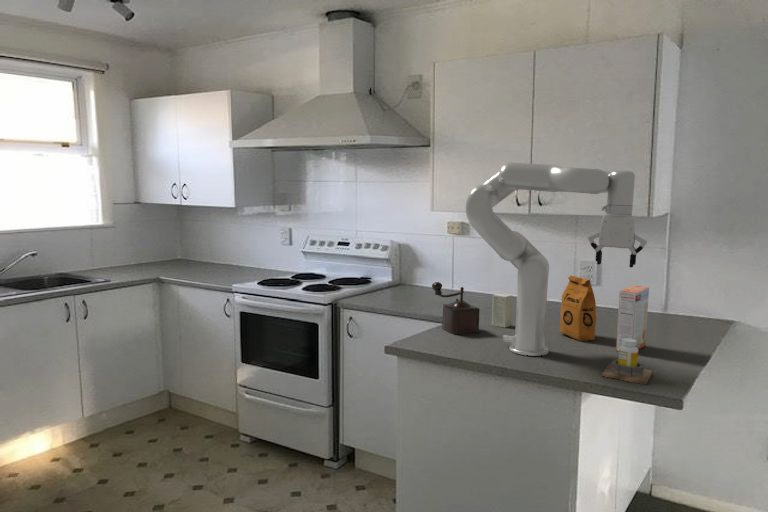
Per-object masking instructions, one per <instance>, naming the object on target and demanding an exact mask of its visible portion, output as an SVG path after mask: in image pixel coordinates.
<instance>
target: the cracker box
mask: <svg viewBox="0 0 768 512" xmlns="http://www.w3.org/2000/svg"><path fill="white" fill-rule="evenodd" d="M649 294H650V287H648V286H641V285H631V286H628V287H627V288H624V289H621V290H619V295H618V313H617V330H616V346H615V351H616V352H619V347H620V346H621V345H623V344H622V339H624V338H630V339H634V340H636V341H637V345H636V346H635V347H637V348H638V351H639V350H641V349H643V348H644V347H645V346H646V338H647V323H648V322H647V321H648V310H649V308H648V306H649V297H650V295H649Z"/></svg>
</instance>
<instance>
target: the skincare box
mask: <svg viewBox="0 0 768 512" xmlns="http://www.w3.org/2000/svg"><path fill="white" fill-rule="evenodd" d="M491 306H492V310H491V311H492V312H491V313H492V314H491V326H495V327H500V328H509V327H510V326H511V325H512V322H511V321H512V295H511V294H504V293H494V294H492V305H491Z"/></svg>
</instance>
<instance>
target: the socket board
mask: <svg viewBox="0 0 768 512" xmlns="http://www.w3.org/2000/svg"><path fill="white" fill-rule="evenodd" d="M652 373H653V370H651V369H646V368H645V364H644V363H642V362H640V361H637V367H627V366H621V365H619V364H618V359H613V360H612V361H611V363H609V364H608V365H607V367H605V369H604V370H603V372H602V373H601V377H602V376H607V377H611V378H615V379H614V380H617V379H619V380H618V381H623V380H624V382H628V381H629V383H635V384H641V385H645V386H646V385H647V384H648V382H649V380H650V378H651V376H652ZM611 378H610V379H611Z"/></svg>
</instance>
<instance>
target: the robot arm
mask: <svg viewBox="0 0 768 512" xmlns="http://www.w3.org/2000/svg"><path fill="white" fill-rule="evenodd" d="M635 180H636V175H635V173H634V172H633V171H628V170H613V171H607V170H602V169H599V168H585V167H584V168H583V167H569V166H559V165H555V164H544V163H543V164H542V163H541V164H540V163H527V162H514V161H513V162H507V163H504V164H503V165H502V166H501V167H500V168H499V171H498V172H497V173H496V174H494V175H493V176H492V177H491V178H489V179H488V180H486V181H485V182H484V183H483V184H478V185H476V186H475V187H473V188H472V189H471V190H470V192H469V194H468V196H467V199H466V203H465V214H466V217H467V220H468V222H469V224H470V225H471V227H472V228H473V229H474V230H475V232H477V233H478V235H479V236H480V237H481V238H482V239H483V241H485V242H486V243H487V244H488V246H490V248H492V249H493V250H494V251H495V253H496V254H497V255H498V256H499V258H501V259H502V260H504V261H507V262H509V263H511V265H513V267H515V269H516V270H517V285H516V286H517V290H516V311H515V326H514V328H515V330H514V331H515V332H514V335H509V334H503V336H502V341H504V342H506V343H510V345H509V350H510V352H512V353H514V354H518V355H521V356H527V355H528V356H531V357H541V355H542V356H546V355H548V353H549V348H548V347H547V346H545V335H546V320H547V319H546V318H547V317H546V316H547V299H548V286H549V285H548V283H549V275H550V264H549V261H548V259H547V258H546V257H545V256H544V255H543V254H542V253H541V251H539V250H538V249H537V248H536V246H534V245H533V244H532V243H531V242H530V240H528V239H527V238H526V237H525V236H524V235H523V234H521V233H520V232H518V231H515V230H512V229H511V228H510V227H509V226H508V225H507V224H506V223H505V222H504V221H503V219H501V218H500V217H499V216H498V215H497V214H496V213H495V212H494V210H493V208H494V207H496V206H497V205H498V204H499V203H501V202H502V201H504V200H505V199H506V198H507V197H508V196H510V195H511V194H512V193H514V192H516V190H522V191H536V192H546V193H547V192H549V193H557V192H564V193H576V194H590V195H599V194H602V193H603V194H605V193H607V196H606V197H607V199H606V205H604V206H601V212H602V211H604V212H605V214H603V215H602V218H601V223H600V227H599V229H600V230H599V232H598V233H595V234H593V235H590V236H588V238H587V239H588V241H589V244H590V246H591V247H592V249H593V250H594V251H595V262H596V264H597V265H601V264H602V260H603V251H602V249H603V248H618V249H628V250H629V251H630V252H631V253H630V255H629V268H633V267H634V266H636V264H637V263H636V261H637V254H638V253H640V252H641V251H642V250H643V249H644V248H645V246H646V245H647V242H648V241H647V240H646V239H644V238H642V237H641V236H639V235H637V234H636V222H635V215H633V208H634V207H633V205H634V191H635V182H636V181H635ZM596 239H598V244H597V243H596V241H595V240H596ZM636 242H638V243H639V246H638V247H636V248H635V246H634V245H635V243H636Z"/></svg>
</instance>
